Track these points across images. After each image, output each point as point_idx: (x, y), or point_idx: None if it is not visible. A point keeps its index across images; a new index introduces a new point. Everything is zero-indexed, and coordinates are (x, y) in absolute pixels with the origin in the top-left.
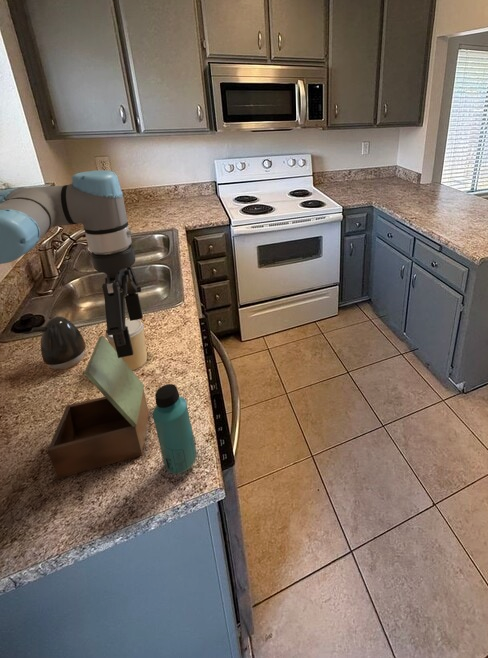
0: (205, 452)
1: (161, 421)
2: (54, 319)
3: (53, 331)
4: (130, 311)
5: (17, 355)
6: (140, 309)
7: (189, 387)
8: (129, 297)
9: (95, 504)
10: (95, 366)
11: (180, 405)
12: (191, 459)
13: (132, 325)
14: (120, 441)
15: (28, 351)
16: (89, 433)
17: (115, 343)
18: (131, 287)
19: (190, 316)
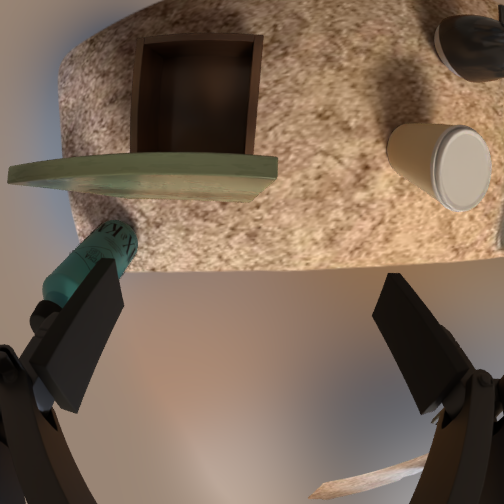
0: (134, 265)
1: (42, 289)
2: None
3: (496, 34)
4: (407, 312)
5: (478, 2)
6: (390, 349)
7: (283, 250)
8: (441, 382)
9: (97, 124)
10: (60, 182)
11: None
12: None
13: (466, 189)
14: None
15: (483, 15)
16: (232, 79)
17: (66, 307)
18: (425, 475)
19: (465, 258)
